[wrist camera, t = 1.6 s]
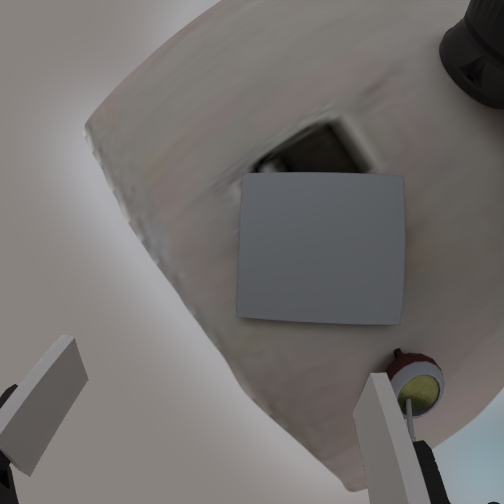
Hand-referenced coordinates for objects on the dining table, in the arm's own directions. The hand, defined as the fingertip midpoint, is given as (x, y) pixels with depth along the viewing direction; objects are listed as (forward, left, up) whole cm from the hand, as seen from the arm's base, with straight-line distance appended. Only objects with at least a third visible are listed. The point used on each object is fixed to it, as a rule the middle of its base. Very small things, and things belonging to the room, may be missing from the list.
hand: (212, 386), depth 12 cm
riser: (-4, -7, -24) cm, 25 cm away
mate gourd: (-15, +8, -24) cm, 29 cm away
